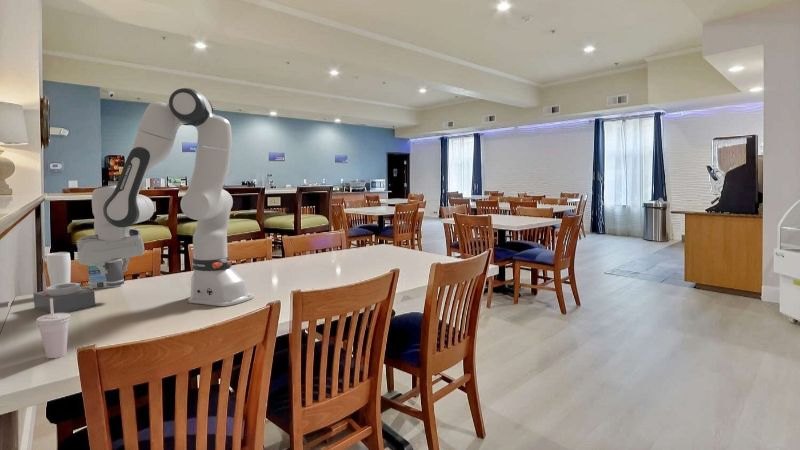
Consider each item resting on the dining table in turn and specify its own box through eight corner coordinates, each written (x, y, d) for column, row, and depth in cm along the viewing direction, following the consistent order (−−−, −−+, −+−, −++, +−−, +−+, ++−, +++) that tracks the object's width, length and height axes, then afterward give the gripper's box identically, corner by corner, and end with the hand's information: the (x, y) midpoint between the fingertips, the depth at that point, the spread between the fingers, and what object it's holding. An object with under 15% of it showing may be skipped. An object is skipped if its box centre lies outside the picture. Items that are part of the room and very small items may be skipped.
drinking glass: (60, 297, 153) (56, 255, 151) (44, 296, 154) (40, 255, 152) (77, 292, 159) (74, 252, 158) (62, 291, 161) (59, 251, 159)
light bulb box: (89, 289, 164) (86, 261, 163) (91, 285, 170) (89, 258, 169) (122, 286, 169) (120, 259, 168) (124, 282, 175) (122, 256, 174)
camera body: (95, 305, 144) (93, 285, 143) (56, 314, 134) (55, 292, 133) (73, 299, 150) (71, 280, 149) (34, 308, 141) (32, 287, 140)
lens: (127, 283, 150) (124, 257, 149) (111, 286, 146) (109, 260, 145) (118, 281, 153) (116, 256, 152) (103, 285, 148) (100, 259, 147)
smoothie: (67, 348, 109) (63, 293, 107) (77, 354, 105) (73, 298, 103) (35, 356, 103) (30, 299, 102) (44, 363, 100) (39, 304, 98)
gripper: (81, 237, 137) (85, 280, 138) (145, 229, 155) (148, 267, 156) (71, 236, 140) (75, 278, 141) (134, 229, 158) (138, 266, 159)
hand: (114, 272), depth 149 cm, fingers closed on lens, 5 cm apart
